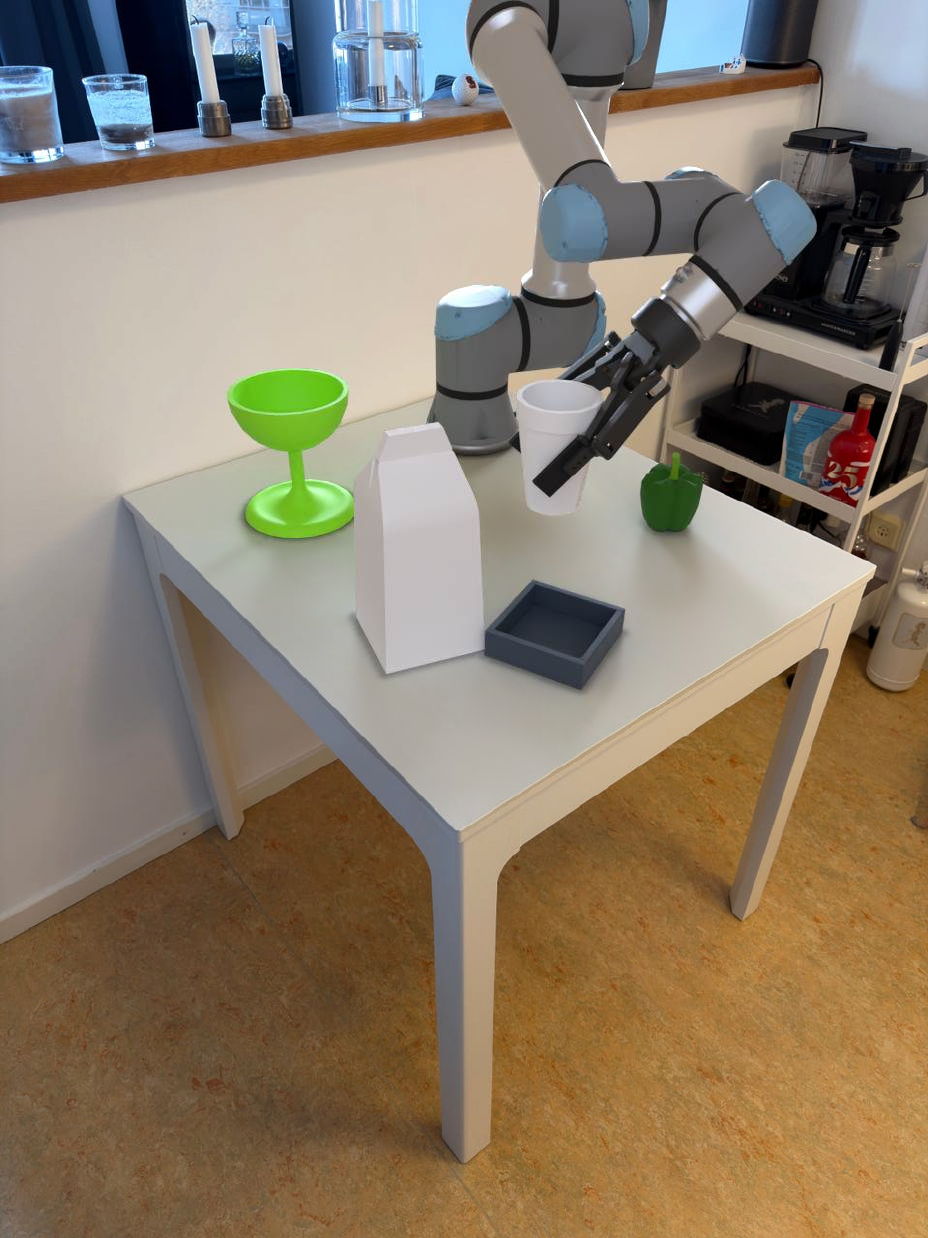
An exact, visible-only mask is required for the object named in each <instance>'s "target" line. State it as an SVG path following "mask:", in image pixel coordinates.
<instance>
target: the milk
mask: <svg viewBox="0 0 928 1238" xmlns="http://www.w3.org/2000/svg"><path fill="white" fill-rule="evenodd" d="M456 455H457V454H455V453H454V452H453V451H452V446H451V444H450V442H449V440H448V437H447V435H446V433H445V431H444V428H443V427H442V426H441V425H440V423H439V422H436V423H430V424H426V423H425V424H417V425H414V426H412V425H411V426H406V427H400V428H392V429H388V430H384V431H383V433H382V435H381V438H380V441H379V443H378V445H377V447H376V450H375V453H374V457H373V458H371V459H370V461H368V462H367V464H366V465H365V466H364V467H363V468H362V469H361V470H360V472H358V474H357V475H356V477H355V479H354V482H353V497H354V517H353V523H354V524H353V527H354V529H353V531H354V534H353V535H354V573H355V574H354V576H355V579H354V580H355V584H354V585H355V618H356V620H357V622H358V624H359V626H360V628H361V629H362V631H363V633H364V635H365V637H366V639H367V641H368V643H369V645H370V646H371V649H372V650H373V652H374V654H375V656H376V658H377V659H378V662H379V664H380V665H381V667H382V669H383V671H384V673H385V675H389V674H393V673H398V672H401V671H405V670H409V669H413V668H417V667H421V666H425V665H429V664H433V663H436V662H440V661H441V662H442V661H444V660H445V661H446V660H448V659H452V658H457V657H460V656H465V655H468V654H472V653H476V652H480V651H485V620H484V619H485V618H484V617H485V616H484V593H483V570H482V569H483V568H482V548H481V524H480V523H481V522H480V511H479V507H478V503H477V500H476V497H475V494H474V492H473V490H472V488H471V486H470V484H469V481H468V479H467V477H466V475H465V472H464V471H463V468H462V466H461V464H460V462H459V460H458V458H457V456H456Z"/></svg>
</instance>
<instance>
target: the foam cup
mask: <svg viewBox="0 0 928 1238" xmlns="http://www.w3.org/2000/svg"><path fill="white" fill-rule="evenodd" d="M555 379H556V378H555ZM555 379H542V380H537V381H533V382H530V383H526V384H524V385H523V386H521V387H520V388H519V389H518V390H517V391H516V404H515V405H516V407H515V412H516V417H515V419H516V421H517V424H518V425H517V426H518V431H519V435H520V446H521V453H520V456H521V467H522V479H523V488H524V490H523V491H524V499H525V505H526V506H527V507H528V508H529V509H530V510H531V511H533V512H536V513H538V514H540V515H545V516H553V517H555V516H565V515H568V514H571V513H573V512H576V511H577V509H578V508H579V507H580V504H581V501H582V498H583V493H584V489H585V484H586V480H587V478H588V477H587V476H588V472H589V469H590V463H591V460H590V461H589V462H588V463H587V464H586V465H585V466H584V467H582V469H581V470H579V471H578V472H577V473H576V474H575V475H574V476H572V477H571V478H570V479H569V480H568V481H567V482H566V483H565V484H564V485H563V486H562V487H561V488H560V489H558V490H557V491H556V492H555V493H554V494H553V495H552V496H551V497H550V498H549V497H548V496H547V495H546V494H545V493H544V492H542V491H541V490H540V489H539V488H538V487H537V486H536V485H534V483H533V482H532V480H533V479H534V478H535V477H536V476H537V475H538V474H539V473H540V472H541V471H542V470H543V469H544V468H545V467H546V466H547V465H548V464H549V463H550V462H551V461H553V460H554V459H555V458H556V457H557V456H558V455H559V454H560V453H561V452H562V451H563V450H564V449H565V448H566V447H567V446H568V445H569V444H570V443H571V442H572V441H573V440H574V439H575V438H576V437H577V435H583V436H584V434H585V433H586V431H587V429H588V428H589V426H590V424H591V423H592V421H593V419H594V418H595V416H596V414H597V413H598V411H599V410H600V408H601V406H602V405H603V403H604V401H605V399H604V396H603V392H602V391H599V390H597V389H596V388H594V387H593V386H590V385H587V384H584V383H581V382H577V381H569V380H560V379H556V380H555ZM595 437H596V436H595ZM595 437H594V438H595Z"/></svg>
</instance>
